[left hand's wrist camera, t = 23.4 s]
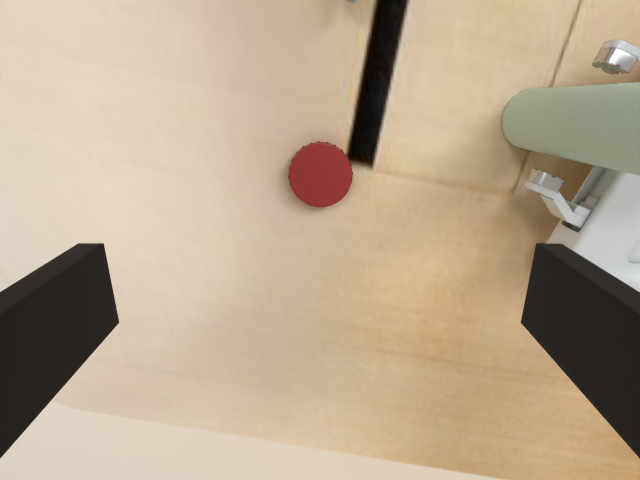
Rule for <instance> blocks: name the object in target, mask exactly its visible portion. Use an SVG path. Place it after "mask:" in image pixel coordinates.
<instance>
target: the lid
mask: <svg viewBox="0 0 640 480" xmlns="http://www.w3.org/2000/svg"><path fill="white" fill-rule="evenodd" d="M351 166H352V165H351V163H349V160H348V156H346V155H345V154H344V153H343V150H342V149H341V150H340V149H339V148H338V147H336V145H332V144H330V143H328V142H327V143H325V142H320V141H318V142H316V143H310V144H309V145H307V146H305V147H304V146H303V148H302V149H301V150H300V151H299V152H298V151H297V153H296V155H295V157H294V158H293V159H292V163H291V166H290V167H289V169H290V170H289V181H290V186H291V188H292V190H293V191H294V193H295V194H296V196H297V197H298V198H299V199H300V200H302V201H303V202H305V203H306V204H309V205H311V206H316V207H326V206H330V205H333V204H335V203H337V202H338V201H340V200H341V199H342V198H343V197H344V196H345V195H346V194H347V192H348V190H349V188H350V186H351V183H352V174H353V173H352V169H351Z"/></svg>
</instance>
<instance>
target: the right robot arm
mask: <svg viewBox="0 0 640 480" xmlns="http://www.w3.org/2000/svg"><path fill="white" fill-rule="evenodd" d="M638 60H640V48H638V47H636V46H634V45H632V44H630V43H627V42H625V41H623V40H611V41H606V42H604V44H603V46H602V47H601V49H600V51H599V53H598V54H597V56H596V58H595V60H594V61H593V63H592V65H593V66H594V67H596V68H602V70H603V71H605V72H607V73H609V74H618V73H619V72H620V73H629V72H630V71H631V69H632V67H633V66H634V64H635V63H636V61H638ZM564 181H565V180H562V179H560V178H558V177H555V176H552V175H551V174H548V173H546V172H543V171H541V170H537V169H535V168H533V169H532V171H531V172H530V174H529V176H528V178H527V179H526V181H525V183H524V185H523V186H524V187H526V188H528V189H530V190H533V191H535V192H538V193H540V194H541V195H540V196H541V198H542V199H543V201H544V203H545V204H546V206H547V208H548V209H549V211H550V213H551V214H552V215H554V216H556V217H558V218H560V221H559V223H558V224H557V226H556V228H555V229H554V231H553V233H552V234H551V236H550V237H549V239H548V241H547V242H546V244H563V245H565V246H566V247H568V248H570V249H571V250H573V251H574V252H576V253H578V254H579V255H581V256H582V257H584V258H586V259H587V260H589V261H591V262H592V263H594V264H595V265H597V266H599V267H600V268H602V269H603V270H605V271H607V272H608V273H610V274H611V275H613V276H615V277H616V278H618V279H619V280H621V281H623V282H624V283H626V284H627V285H629V286H631V287H632V288H634V289H635V290H637V291H639V292H640V176H638V175H634V174H630V173H625V172H621V171H617V170H613V169H608V168H604V167H600V166H595V165H594V166H593V167H592V169H591V171H590V172H589V174H588V176H587V177H586V179H585V180H584V182H583V184H582V185H581V187H580V189H579V190H578V192H577V193H576V195H575V197H574V198H573V200H572V202H569V201H567V200H565V199H564V198H563V196H562V195H561V193H560V192H559V190H560V188H561V186H562V184H563V183H564Z"/></svg>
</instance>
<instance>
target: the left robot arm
mask: <svg viewBox="0 0 640 480" xmlns="http://www.w3.org/2000/svg"><path fill="white" fill-rule="evenodd" d="M118 323H119V319H118V314H117V309H116V304H115V299H114V294H113V289H112V284H111V279H110V273H109V268H108V263H107V258H106V253H105V248H104V244H77V245H75V246H74V247H72V248H70V249H69V250H67V251H66V252H64V253H62V254H61V255H59V256H58V257H56V258H54V259H53V260H51V261H49V262H48V263H46V264H45V265H43V266H41V267H40V268H38V269H37V270H35V271H33V272H32V273H30V274H29V275H27V276H25V277H24V278H22V279H21V280H19V281H17V282H16V283H14V284H13V285H11V286H9V287H8V288H6V289H5V290H3V291H1V292H0V458H1V457H2V456H3V455H4V453H5V452H6V451H7V450H8V449H9V448H10V447H11V446H12V444H13V443H14V442H15V441H16V440H17V439H18V437H19V436H20V435H21V434H22V433H23V432H24V431H25V430H26V428H27V427H28V426H29V425H30V424H31V423H32V421H33V420H34V419H35V418H36V417H37V416H38V415H39V414H40V412H41V411H42V410H43V409H44V408H45V407H46V406H47V404H48V403H49V402H50V401H51V400H52V399H53V398H54V396H55V395H56V394H57V393H58V392H59V391H60V390H61V388H62V387H63V386H64V385H65V384H66V383H67V382H68V380H69V379H70V378H71V377H72V376H73V375H74V374H75V372H76V371H77V370H78V369H79V368H80V367H81V366H82V364H83V363H84V362H85V361H86V360H87V359H88V358H89V356H90V355H91V354H92V353H93V352H94V351H95V350H96V348H97V347H98V346H99V345H100V344H101V343H102V342H103V340H104V339H105V338H106V337H107V336H108V335H109V334H110V332H111V331H112V330H113V329H114V328H115V327H116V326H117V324H118ZM521 323H522V324H523V326H524V327H525V328H526V329H527V330H528V331H529V332H530V334H531V335H532V336H533V337H534V338H535V339H536V340H537V342H538V343H539V344H540V345H541V346H542V347H543V348H544V350H545V351H546V352H547V353H548V354H549V355H550V356H551V358H552V359H553V360H554V361H555V362H556V363H557V364H558V366H559V367H560V368H561V369H562V370H563V371H564V372H565V374H566V375H567V376H568V377H569V378H570V379H571V380H572V382H573V383H574V384H575V385H576V386H577V387H578V388H579V390H580V391H581V392H582V393H583V394H584V395H585V396H586V398H587V399H588V400H589V401H590V402H591V403H592V404H593V406H594V407H595V408H596V409H597V410H598V411H599V412H600V414H601V415H602V416H603V417H604V418H605V419H606V420H607V422H608V423H609V424H610V425H611V426H612V427H613V428H614V430H615V431H616V432H617V433H618V434H619V435H620V436H621V438H622V439H623V440H624V441H625V442H626V443H627V444H628V446H629V447H630V448H631V449H632V450H633V451H634V452H635V454H636V455H637V456H638V457H639V458H640V292H639V291H637V290H635V289H634V288H632V287H631V286H629V285H627V284H626V283H624V282H623V281H621V280H619V279H618V278H616V277H615V276H613V275H611V274H610V273H608V272H607V271H605V270H603V269H602V268H600V267H599V266H597V265H595V264H594V263H592V262H591V261H589V260H587V259H586V258H584V257H582V256H581V255H579V254H578V253H576V252H574V251H573V250H571V249H570V248H568V247H566V246H565V245H563V244H536V248H535V253H534V258H533V263H532V268H531V273H530V279H529V284H528V289H527V294H526V299H525V304H524V309H523V314H522V319H521Z"/></svg>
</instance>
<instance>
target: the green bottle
mask: <svg viewBox="0 0 640 480" xmlns="http://www.w3.org/2000/svg"><path fill="white" fill-rule="evenodd" d="M502 130H503V134H504V136H505V138H506V139H507V140H508V141H509V142H510V143H511V144H512V145H514V146H516V147H519V148H523V149H527V150H531V151H535V152H540V153H544V154H548V155H553V156H557V157H561V158H565V159H570V160H574V161H578V162H583V163H587V164H591V165H595V166H600V167H604V168H608V169H613V170H617V171H621V172H625V173H630V174H634V175H638V176H640V82H632V83H616V84H599V85H583V86H566V87H549V88H534V89H528V90H525V91H523V92H521V93H519V94H517V95H516V96H515V97H514V98H513V99H512V100H511V101H510V102H509V103H508V105H507V106H506V108H505V110H504V113H503V116H502Z"/></svg>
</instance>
